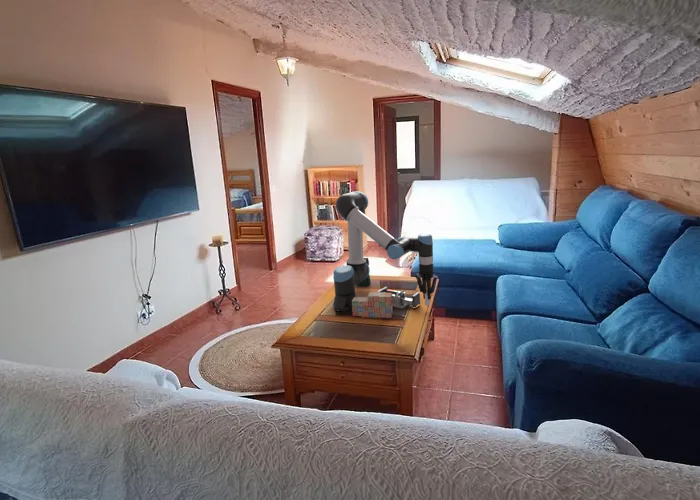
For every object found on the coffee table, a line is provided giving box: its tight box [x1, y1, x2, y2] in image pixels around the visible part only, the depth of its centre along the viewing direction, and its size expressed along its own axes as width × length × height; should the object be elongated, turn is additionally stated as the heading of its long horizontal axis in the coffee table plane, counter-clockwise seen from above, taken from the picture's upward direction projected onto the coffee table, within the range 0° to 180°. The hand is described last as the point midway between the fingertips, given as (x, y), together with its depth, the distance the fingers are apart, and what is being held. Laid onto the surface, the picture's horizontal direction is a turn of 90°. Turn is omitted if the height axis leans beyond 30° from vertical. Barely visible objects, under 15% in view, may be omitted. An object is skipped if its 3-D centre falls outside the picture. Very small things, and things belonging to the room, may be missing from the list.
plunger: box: [395, 289, 421, 308], centre depth 230 cm, size 9×15×8 cm, turn 53°
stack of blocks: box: [351, 291, 394, 319], centre depth 220 cm, size 21×6×12 cm, turn 76°
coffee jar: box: [356, 257, 372, 287], centre depth 269 cm, size 10×8×19 cm
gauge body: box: [376, 286, 408, 309], centre depth 235 cm, size 9×17×7 cm, turn 53°
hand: (427, 304), depth 223 cm, fingers closed
